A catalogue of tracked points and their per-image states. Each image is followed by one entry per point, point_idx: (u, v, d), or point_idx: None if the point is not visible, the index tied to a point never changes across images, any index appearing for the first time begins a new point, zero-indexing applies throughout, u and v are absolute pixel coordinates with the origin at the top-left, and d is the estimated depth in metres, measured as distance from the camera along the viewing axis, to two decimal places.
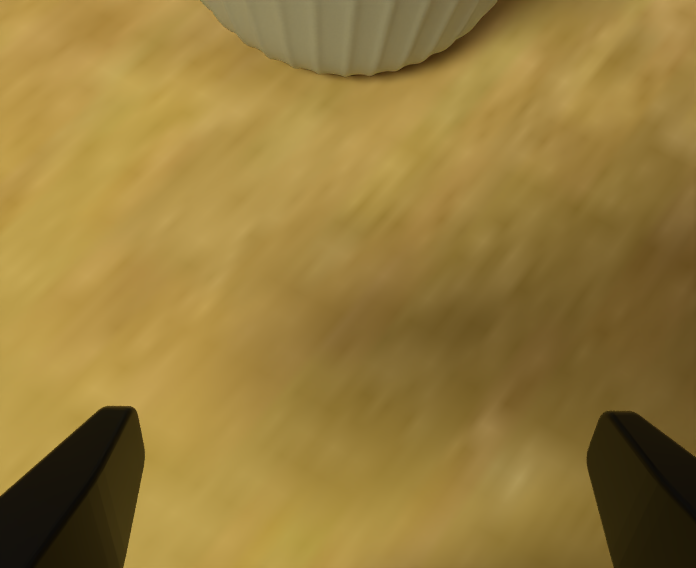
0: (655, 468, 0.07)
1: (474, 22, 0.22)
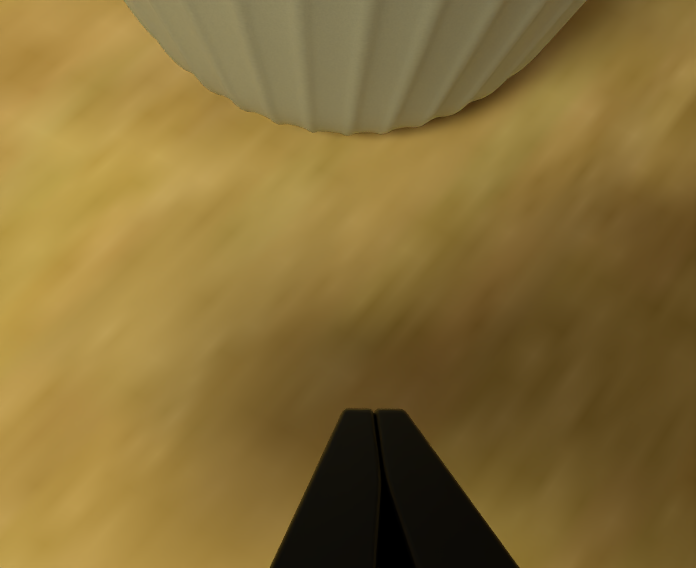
0: (388, 466, 0.07)
1: (523, 64, 0.16)
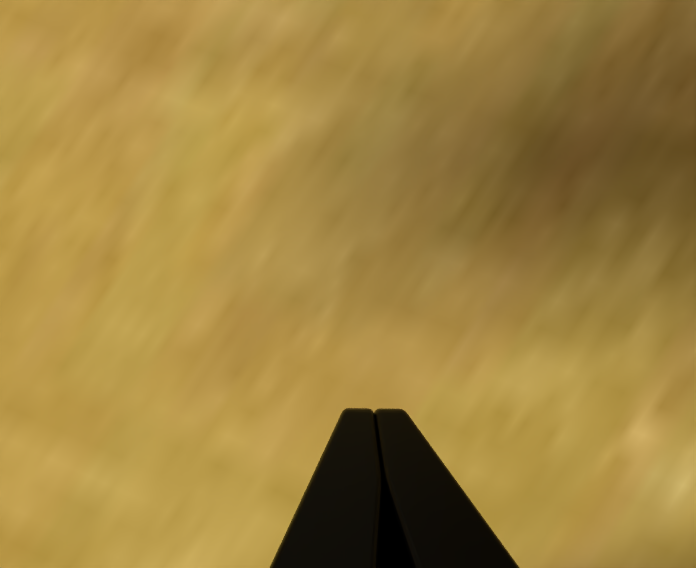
0: (388, 466, 0.07)
1: None
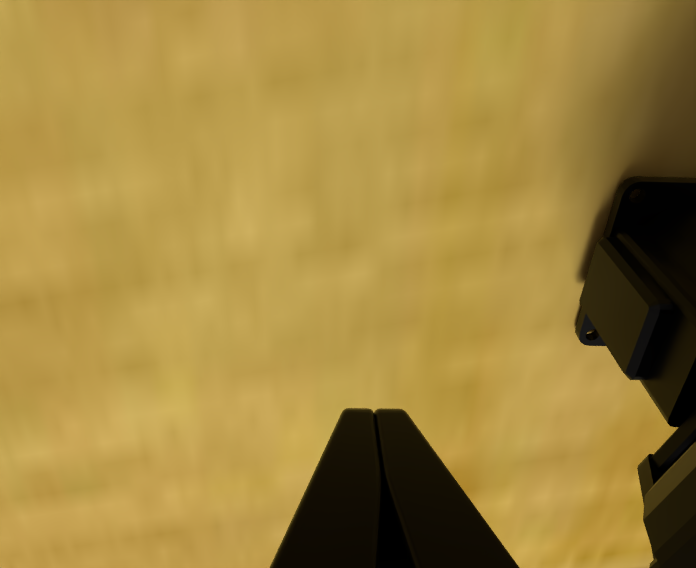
0: (388, 467, 0.07)
1: None
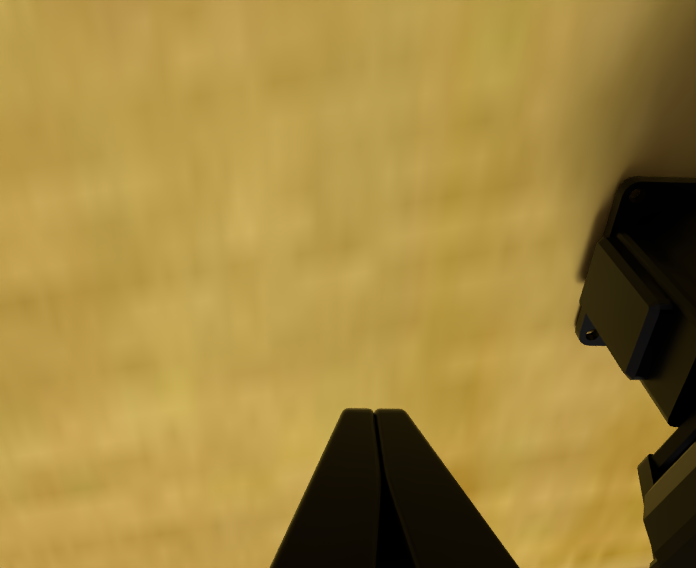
0: (388, 466, 0.07)
1: None
